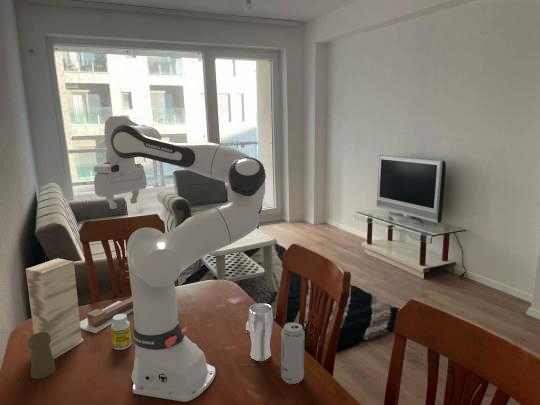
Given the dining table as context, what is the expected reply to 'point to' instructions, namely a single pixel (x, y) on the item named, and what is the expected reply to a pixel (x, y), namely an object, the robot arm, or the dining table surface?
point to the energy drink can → (292, 353)
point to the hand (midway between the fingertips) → (123, 205)
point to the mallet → (108, 313)
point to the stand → (55, 303)
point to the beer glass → (260, 330)
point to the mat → (89, 328)
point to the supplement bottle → (121, 332)
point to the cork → (41, 355)
